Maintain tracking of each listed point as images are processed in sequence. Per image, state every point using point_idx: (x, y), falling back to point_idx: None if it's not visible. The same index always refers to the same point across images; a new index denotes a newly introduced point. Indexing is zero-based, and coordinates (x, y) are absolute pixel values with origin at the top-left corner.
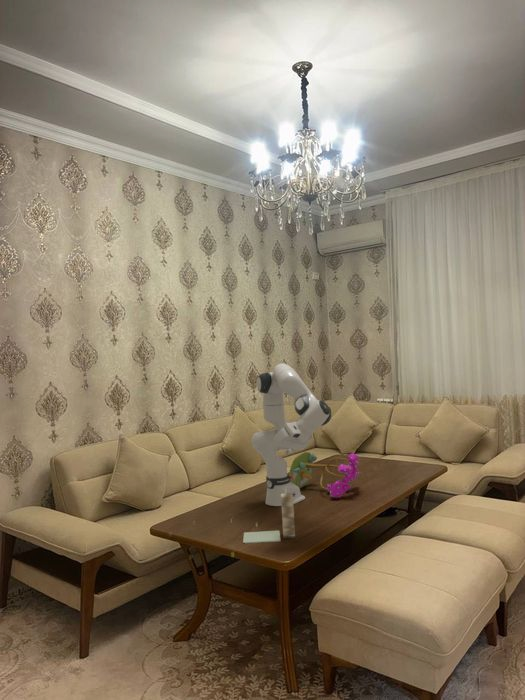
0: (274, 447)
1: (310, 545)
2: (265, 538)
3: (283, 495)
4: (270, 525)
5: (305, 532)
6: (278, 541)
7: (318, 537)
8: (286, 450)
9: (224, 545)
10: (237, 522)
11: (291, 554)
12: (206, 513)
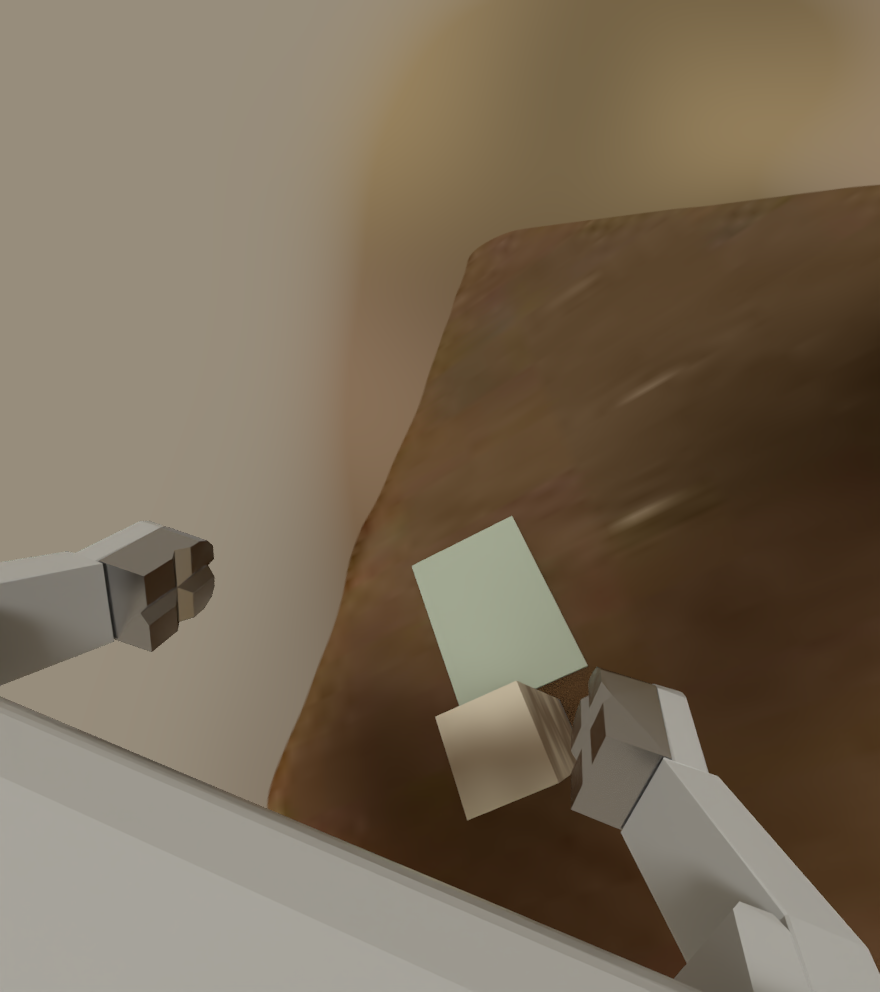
0: (95, 550)
1: None
2: (469, 638)
3: (475, 721)
4: (658, 583)
5: None
6: None
7: None
8: (600, 707)
9: (388, 511)
10: (634, 422)
11: (338, 826)
12: (688, 258)
